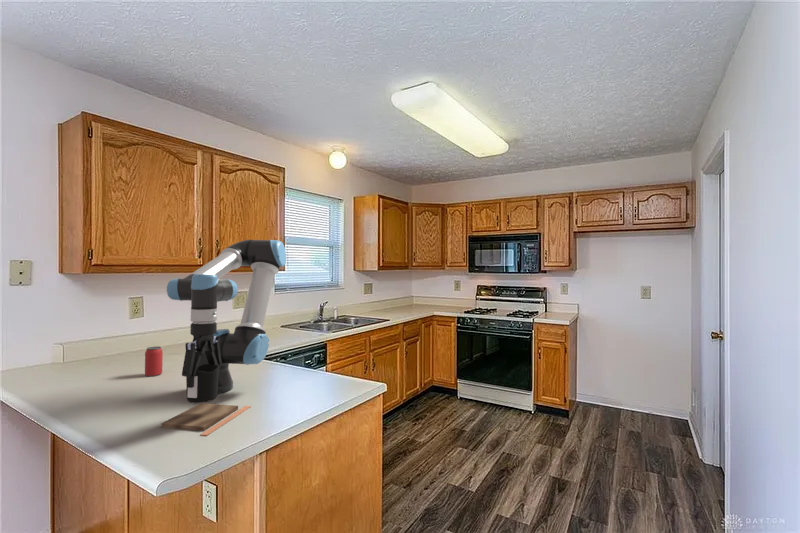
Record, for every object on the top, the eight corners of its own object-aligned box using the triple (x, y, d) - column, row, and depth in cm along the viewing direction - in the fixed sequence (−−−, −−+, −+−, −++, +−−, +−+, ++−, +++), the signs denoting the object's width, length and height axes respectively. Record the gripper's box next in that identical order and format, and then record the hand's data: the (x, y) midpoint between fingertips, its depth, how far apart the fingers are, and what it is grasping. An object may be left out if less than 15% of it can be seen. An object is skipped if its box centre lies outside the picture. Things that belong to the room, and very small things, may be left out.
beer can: (141, 375, 172) (141, 348, 172) (155, 372, 178) (155, 345, 178) (151, 377, 170) (152, 349, 170) (165, 373, 176) (166, 347, 176)
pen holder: (215, 402, 122) (216, 370, 122) (182, 404, 119) (182, 372, 120) (220, 393, 131) (221, 363, 131) (189, 395, 128) (189, 364, 129)
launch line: (200, 435, 112) (200, 434, 112) (245, 406, 136) (245, 405, 136) (206, 436, 112) (206, 434, 112) (251, 406, 136) (251, 406, 136)
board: (161, 427, 118) (161, 423, 118) (200, 406, 135) (200, 403, 135) (203, 430, 115) (204, 426, 115) (238, 409, 133) (238, 405, 133)
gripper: (191, 327, 114) (190, 404, 114) (233, 318, 136) (232, 383, 135) (168, 326, 115) (166, 403, 115) (214, 317, 137) (212, 382, 137)
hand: (202, 392), depth 125 cm, fingers closed on pen holder, 9 cm apart
